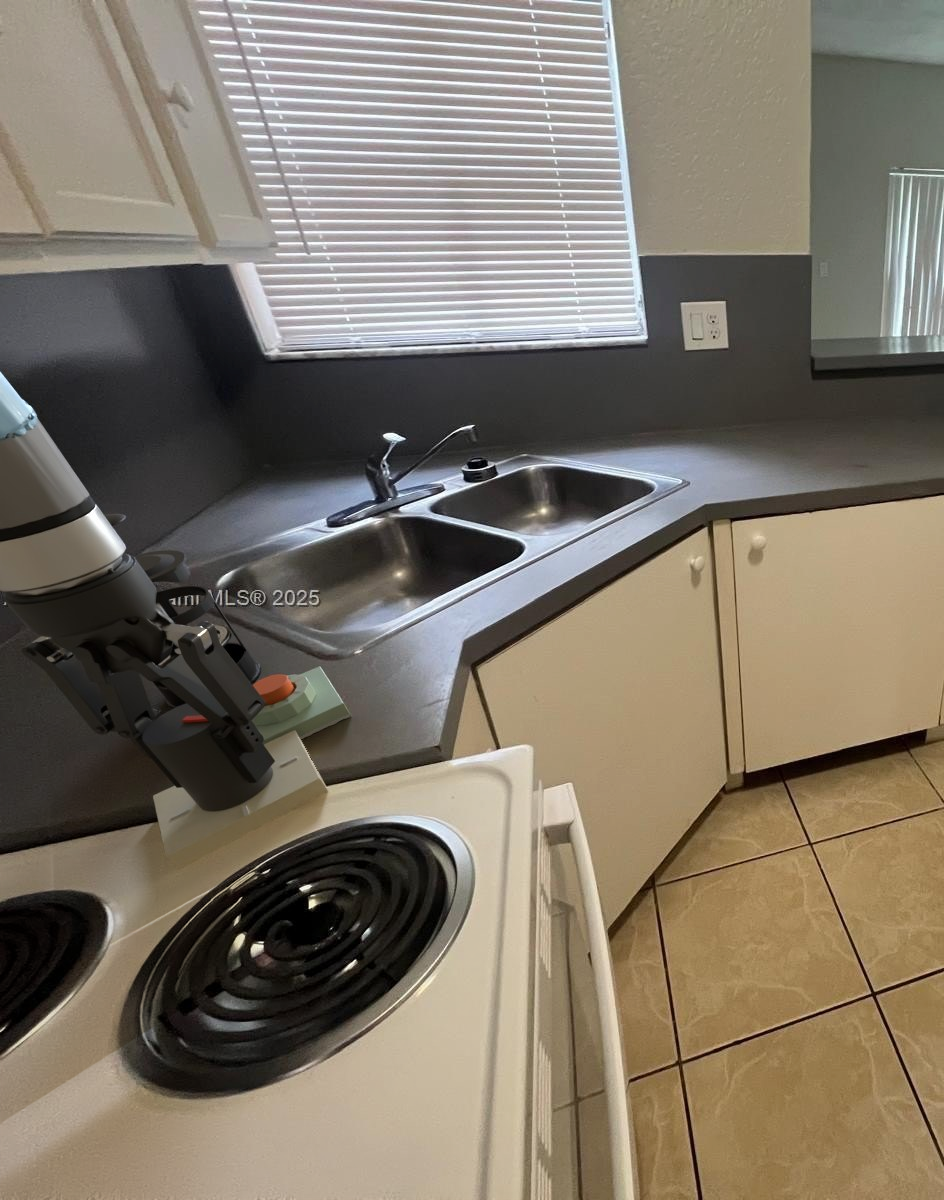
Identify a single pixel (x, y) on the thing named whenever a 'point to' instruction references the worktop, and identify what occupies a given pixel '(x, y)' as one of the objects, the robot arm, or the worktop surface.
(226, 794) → the oven knob
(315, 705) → the button box
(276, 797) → the panel
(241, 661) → the french press
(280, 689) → the button
